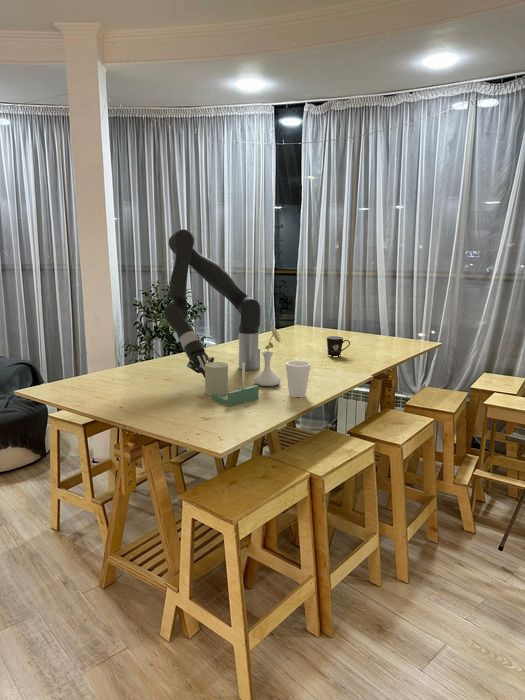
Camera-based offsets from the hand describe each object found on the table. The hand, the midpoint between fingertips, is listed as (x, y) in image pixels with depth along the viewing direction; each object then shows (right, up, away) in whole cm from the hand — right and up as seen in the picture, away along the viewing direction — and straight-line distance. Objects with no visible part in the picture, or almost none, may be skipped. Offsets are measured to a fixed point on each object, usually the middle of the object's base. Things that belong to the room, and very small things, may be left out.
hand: (209, 379), depth 199 cm
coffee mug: (+60, +8, +62) cm, 87 cm away
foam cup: (+35, -6, -4) cm, 36 cm away
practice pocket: (+11, -7, -10) cm, 16 cm away
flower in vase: (+23, -3, +11) cm, 26 cm away
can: (+3, -5, -3) cm, 7 cm away
